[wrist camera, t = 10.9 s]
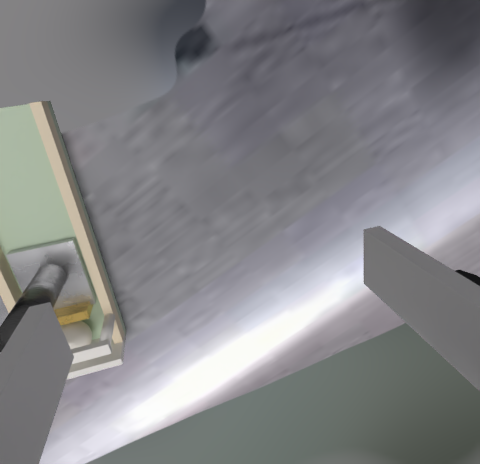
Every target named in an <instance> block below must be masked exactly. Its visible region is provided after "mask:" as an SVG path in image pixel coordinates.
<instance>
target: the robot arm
mask: <svg viewBox="0 0 480 464" xmlns="http://www.w3.org/2000/svg"><path fill="white" fill-rule="evenodd" d="M364 284H365V285H366V286H367V287H368V288H369V289H370V290H372V291H373V292H374V293H375V294H376V295H377V296H378V297H379V298H380V299H381V300H382V301H383V302H384V303H386V304H387V305H388V306H389V307H390V308H391V309H392V310H393V311H394V312H395V313H396V314H397V315H398V316H399V317H401V318H402V319H403V320H404V321H405V322H406V323H407V324H408V325H409V326H410V327H411V328H412V329H413V330H415V331H416V332H417V333H418V334H419V335H420V336H421V337H422V338H423V339H424V340H425V341H426V342H428V343H429V344H430V345H431V346H432V347H433V348H434V349H435V350H436V351H437V352H438V353H439V354H440V355H441V356H442V357H444V358H445V359H446V360H447V361H448V362H449V363H450V364H451V365H452V366H453V367H454V368H455V369H457V370H458V371H459V372H460V373H461V374H462V375H463V376H464V377H465V378H466V379H467V380H468V381H469V382H471V383H472V384H473V385H474V386H475V387H476V388H477V389H478V390H479V391H480V277H478V276H476V275H474V274H471V273H468V272H465V271H461V270H457V271H454V270H452V269H450V268H449V267H447V266H445V265H444V264H442V263H440V262H439V261H437V260H435V259H434V258H432V257H430V256H429V255H427V254H425V253H424V252H422V251H420V250H419V249H417V248H415V247H414V246H412V245H410V244H409V243H407V242H405V241H404V240H402V239H400V238H399V237H397V236H396V235H394V234H392V233H391V232H389V231H387V230H386V229H384V228H382V227H381V226H377V227H373V228H369V229H364ZM73 359H74V355H73V353H72V351H71V349H70V346H69V344H68V342H67V339H66V337H65V335H64V333H63V330H62V328H61V326H60V323H59V321H58V319H57V317H56V314H55V312H54V310H53V307H52V305H51V303H50V302H48V303H44V304H39V305H35V306H31V307H29V308H28V310H27V311H26V313H25V314H24V316H23V318H22V319H21V321H20V322H19V324H18V326H17V327H16V329H15V331H14V332H13V334H12V335H11V337H10V339H9V340H8V342H7V343H6V345H5V347H4V348H3V350H2V352H1V353H0V464H39V461H40V458H41V455H42V452H43V449H44V446H45V443H46V440H47V437H48V434H49V431H50V428H51V425H52V422H53V419H54V416H55V413H56V410H57V407H58V404H59V401H60V398H61V395H62V392H63V389H64V386H65V383H66V380H67V377H68V374H69V371H70V368H71V365H72V362H73Z"/></svg>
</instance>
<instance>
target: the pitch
mask: <svg viewBox="0 0 480 464" xmlns="http://www.w3.org/2000/svg"><path fill="white" fill-rule="evenodd" d="M74 237H75V240H76V243H77V245H78V248H79V251H80V254H81V257H82V259H83V262H84V265H85V268H86V271H87V273H88V276H89V279H90V282H91V285H92V287H93V290H94V293H95V296H96V299H97V300H96V303H95V304H93V307H92V311H91V315H90V318H89V319H85V320H81V321H82V322H84V323H86V324H87V325H88V326H89V327H90V329H91V331H92V341H91V344H89V345H85V346H81V347H77V348H74V349H71V351H72V353H73V355H74V359H73V362H72V365H71V368H70V371H69V374H68V377H67V379H71V378H75V377H78V376H82V375H85V374H89V373H93V372H96V371H100V370H103V369H107V368H111V367H114V366H118V365H122V364H123V357H124V348H125V338H126V329H125V325H124V322H123V319H122V316H121V313H120V310H119V307H118V304H117V301H116V298H115V295H114V292H113V289H112V286H111V283H110V280H109V277H108V274H107V271H106V268H105V265H104V262H103V259H102V256H101V253H100V250H99V247H98V244H97V241H96V238H95V235H94V232H93V229H92V226H91V223H90V220H89V217H88V214H87V211H86V208H85V205H84V202H83V199H82V196H81V193H80V190H79V187H78V184H77V181H76V178H75V175H74V172H73V169H72V166H71V162H70V159H69V156H68V153H67V150H66V147H65V144H64V141H63V138H62V135H61V132H60V130H59V126H58V123H57V120H56V117H55V114H54V111H53V108H52V105H51V102H50V101H41V102H33V103H29V104H26V105H19V106H12V107H5V108H0V295H1V297H2V300H3V302H4V304H5V306H6V308H7V310H8V312H9V313H10V311H11V310H12V308H13V307H14V305H15V304H16V302H17V301H18V299H19V298H20V296H21V295H22V293H23V292H22V290H21V288H20V285H19V283H18V281H17V279H16V276H15V274H14V272H13V270H12V268H11V265H10V263H9V261H8V259H7V257H6V254H7V253H8V252H9V251H13V250H17V249H22V248H27V247H32V246H36V245H41V244H46V243H51V242H55V241H60V240H65V239H70V238H74Z"/></svg>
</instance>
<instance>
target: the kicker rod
mask: <svg viewBox="0 0 480 464" xmlns="http://www.w3.org/2000/svg"><path fill="white" fill-rule="evenodd" d="M6 257H7V259H8V261H9V263H10V265H11V268H12V270H13V272H14V274H15V276H16V279H17V281H18V283H19V285H20V288H21V290H22V292H23V293H22V295H21V296H20V298H19V299H18V301H17V302H16V304H15V305H14V307H13V308H12V310H11V311H10V313H9V314H8V316H7V317H6V319H5V321H4V322H3V324H2V325H1V327H0V352H2V350H3V348H4V347H5V345H6V343H7V342H8V340H9V339H10V337H11V335H12V334H13V332H14V331H15V329H16V327H17V326H18V324H19V322H20V321H21V319H22V318H23V316H24V314H25V313H26V311H27V310H28V308H29V307H31V306H35V305H39V304H44V303H48V302H50V303H51V305H52V307H53V310H54V312H55V314H56V317H57V319H58V321H59V323H60V326H61V325H65V324H69V323H73V322H77V321H81V320H85V319H89V318H90V315H91V311H92V307H93V304H95V303H96V300H97V299H96V296H95V293H94V290H93V287H92V285H91V282H90V279H89V276H88V273H87V271H86V268H85V265H84V262H83V259H82V257H81V254H80V251H79V248H78V245H77V243H76V240H75V237H74V238H70V239H65V240H60V241H55V242H51V243H46V244H41V245H36V246H32V247H27V248H22V249H17V250H13V251H9V252H8V253H7V254H6Z"/></svg>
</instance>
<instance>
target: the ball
mask: <svg viewBox="0 0 480 464" xmlns="http://www.w3.org/2000/svg"><path fill="white" fill-rule="evenodd" d="M61 328H62V330H63V333H64V335H65V337H66V339H67V342H68V344H69V346H70V349H74V348H77V347H81V346H85V345H89V344H91V341H92V331H91V329H90V327H89V326H88V325H87V324H86V323H84V322H82V321H77V322H73V323H69V324H65V325H61Z"/></svg>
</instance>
